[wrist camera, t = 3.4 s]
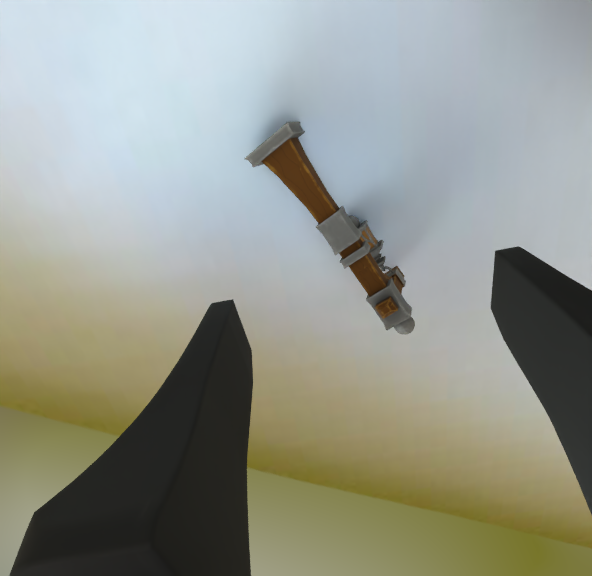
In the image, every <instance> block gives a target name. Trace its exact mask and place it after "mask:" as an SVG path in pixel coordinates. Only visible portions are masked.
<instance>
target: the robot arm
mask: <svg viewBox="0 0 592 576" xmlns="http://www.w3.org/2000/svg"><path fill="white" fill-rule="evenodd" d="M491 310H492V312H493V315H494V317H495V320H496V322H497V325H498V327H499V329H500V332H501V334H502V336H503V339H504V341H505V342H506V344H507V346H508V348H509V349H510V351H511V353H512V354H513V356H514V358H515V360H516V361H517V363H518V365H519V366H520V368H521V370H522V371H523V373H524V375H525V376H526V378H527V380H528V381H529V383H530V385H531V386H532V388H533V390H534V392H535V393H536V395H537V397H538V398H539V400H540V402H541V403H542V405H543V407H544V409H545V410H546V412H547V414H548V416H549V418H550V420H551V422H552V424H553V426H554V428H555V430H556V433H557V435H558V437H559V439H560V441H561V443H562V446H563V448H564V450H565V452H566V454H567V457H568V459H569V461H570V464H571V466H572V468H573V471H574V473H575V475H576V478H577V480H578V482H579V485H580V487H581V489H582V492H583V494H584V497H585V499H586V502H587V504H588V507H589V509H590V512H591V514H592V291H591V290H590V289H588V288H586V287H584V286H583V285H581V284H579V283H578V282H576V281H574V280H573V279H571V278H569V277H568V276H566V275H564V274H563V273H561V272H559V271H558V270H556V269H555V268H553V267H551V266H550V265H548V264H547V263H545V262H543V261H542V260H540V259H539V258H537V257H535V256H534V255H532V254H531V253H529V252H527V251H526V250H524V249H522V248H521V247H513V248H508V249H502V250H497V251H495V261H494V274H493V286H492V299H491ZM252 388H253V371H252V352H251V348H250V345H249V342H248V339H247V337H246V334H245V331H244V329H243V326H242V323H241V320H240V318H239V315H238V312H237V310H236V307H235V304H234V301H233V300H227V301H222V302H217V303H212V304H211V305H210V307H209V308H208V310H207V312H206V314H205V316H204V317H203V319H202V321H201V323H200V325H199V327H198V328H197V330H196V332H195V334H194V336H193V337H192V339H191V341H190V342H189V344H188V346H187V347H186V349H185V351H184V353H183V354H182V356H181V358H180V359H179V361H178V362H177V364H176V365H175V367H174V368H173V370H172V371H171V373H170V374H169V376H168V377H167V379H166V380H165V382H164V383H163V385H162V386H161V388H160V389H159V390H158V392H157V393H156V394H155V396H154V397H153V398H152V400H151V401H150V402H149V404H148V405H147V406H146V407H145V409H144V410H143V411H142V412H141V414H140V415H139V416H138V417H137V418H136V419H135V421H134V422H133V423H132V424H131V425H130V426H129V427H128V428H127V429H126V430H125V431H124V432H123V433H122V435H121V436H120V437H119V438H118V439H117V440H116V441H115V442H114V443H113V444H112V445H111V446H110V447H109V448H108V449H107V450H106V451H105V452H104V453H103V454H102V455H101V456H100V457H99V458H98V459H97V460H96V461H95V462H94V463H93V464H92V465H90V466H89V467H88V468H87V469H86V470H85V471H84V472H83V473H82V474H81V475H79V476H78V477H77V478H76V479H75V480H74V481H73V482H72V483H70V484H69V485H68V486H67V487H65V488H64V489H63V490H62V491H60V492H59V493H58V494H57V495H56V496H54V497H53V498H52V499H51V500H49V501H48V502H47V503H46V504H44V505H43V506H42V507H41V508H39V509H38V510H37V511H36V512H34V515H33V517H32V519H31V521H30V524H29V526H28V528H27V531H26V533H25V536H24V539H23V541H22V544H21V546H20V549H19V551H18V555H17V557H16V559H15V562H14V565H13V567H12V570H11V573H10V576H251V570H250V552H249V533H248V505H247V450H248V438H249V426H250V414H251V402H252Z"/></svg>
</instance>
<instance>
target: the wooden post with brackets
mask: <svg viewBox="0 0 592 576" xmlns="http://www.w3.org/2000/svg"><path fill="white" fill-rule="evenodd" d="M304 132H305V131H303V130H302V128H301V126H300V122H287V123H286V124H285V125H284V126H282V127H281V128H280V129H279V130H278V131H277V132H275V133H274V134H273V135H272V136H271V137H269V138H268V139H267V140H266V141H265V142H263V143H262V144H261V145H260V146H259V147H258V148H256V149H255V150H254V151H253V152H252V153H250V154H249V155H248V156H247V157H246V158H245V159H246V160H248V161H249V162H250V163H251V164H252V166H253V167H255V166H259V165H262V164H265V165H266V166H267V167H268V168H269V169H270V170H271V171H272V172H274V173H275V174H276V175H277V176H278V177H279V178H280V179H281V180H282V181H283V183H284V184H285V185H286V186H287V187H288V188H289V189H290V190H291V191H292V192H293V193H294V194H295V196H296V197H297V198H298V199H299V200H300V201H301V202H302V203H303V204H304V205H305V206H306V207H307V209H308V210H309V211H310V213H311V214H312V215H313V217H314V218H315V219H316V221H317V222H318V223H319V224H318V225H317V226H316V228H317V229H318V230H319V231H320V232H321V233H322V234H323V236H324V237H325V238H326V240H327V241H328V243H329V244H330V246H331V247H332V249H333V252H334V254H335V255H337V254H338V253H339V254H340V255H341V256H342V259H341V260H340V263H342V264H343V266H344V268H346V267H348V266H349V267H350V269H351V270H352V272H353V273H354V275H355V276H356V278H357V279H358V280H359V282H360V283H361V285H362V286H363V288H364V289H365V290H366V292H367V293H368V296H367V298H366V301H367V302H369V303H370V304H371V306H372V307H373V309H374V310H375V311H376V313H377V314H378V316H379V317H380V319H381V320H382V322H383V323H384V325H385V328H386V330H388V329H390V328H392V327H394V328H395V330H396V331H397V332H398V333H400V334H409V333H411V332H412V331H413V329H414V327H415V322H414V320H413V318H412V317H411V311H412V307H411V306H410V305H409V304H408V303H407V302H406V301H405V299H404V298H403V296H402V295H401V292H402V288H403V287H404V286H405V282H406V281H405V280H404V275H403V273H402V272H401V271H400V269H399V268H398V266H396V267H395V268H393V269H391V268H390V267H387V266H385V267H384V265H383V264H384V262H385V256H384V257H382V258H380V257H381V254H380V253H379V252H380V250H381V249H382V246H383V240H381V241H379V242H378V241H377V240H376V239H375V237H374V235H373V234H372V232H371V231H370V229H369V227H368V225H367V221H364V222H363V223H362V224H360V222H359V220H358V218H356V217H355V216H348V215H347V214H346V212H345V209H344V207H343V206H341V207H340V208H339V207H338V206H337V204H336V203H335V202H334V200H333V199H332V197H331V196H330V194H329V193H328V192H327V190H326V188H325V187H324V185H323V183H322V181H321V180H320V178H319V176H318V175H317V173H316V171H315V170H314V168H313V166H312V164H311V163H310V161H309V159H308V158H307V156H306V154H305V152H304V150H303V148H302V146H301V144H300V141H299V139H298V137H299V136H301V135H302V134H303V133H304ZM379 267H380V268H381V269H380V268H379ZM385 269H389V270H390V271H388V272H387V273H385V274H384V273H383V272H382V271H385Z"/></svg>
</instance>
